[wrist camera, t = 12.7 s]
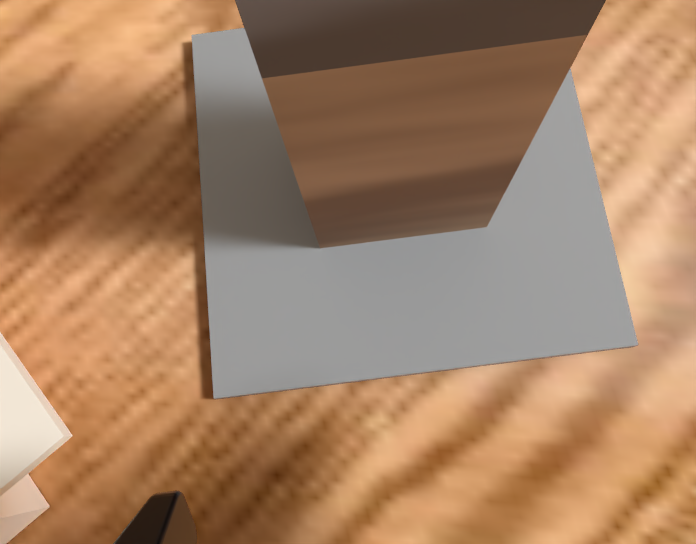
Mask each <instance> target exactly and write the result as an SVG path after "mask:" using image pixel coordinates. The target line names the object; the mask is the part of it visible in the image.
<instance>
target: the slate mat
mask: <svg viewBox="0 0 696 544" xmlns="http://www.w3.org/2000/svg"><path fill="white" fill-rule="evenodd" d="M192 49H193V66H194V82H195V99H196V115H197V132H198V149H199V165H200V182H201V198H202V215H203V231H204V248H205V265H206V281H207V298H208V314H209V331H210V348H211V364H212V381H213V397H214V399H223V398H231V397H239V396H247V395H255V394H263V393H271V392H279V391H287V390H295V389H303V388H311V387H319V386H327V385H335V384H343V383H351V382H359V381H367V380H374V379H382V378H390V377H398V376H406V375H414V374H422V373H430V372H438V371H446V370H454V369H462V368H470V367H478V366H486V365H494V364H502V363H510V362H518V361H526V360H533V359H541V358H549V357H557V356H565V355H573V354H581V353H589V352H597V351H605V350H613V349H621V348H629V347H634V346H637V345H638V342H637V338H636V334H635V330H634V326H633V321H632V317H631V313H630V309H629V305H628V301H627V297H626V293H625V289H624V285H623V281H622V277H621V273H620V269H619V265H618V260H617V256H616V252H615V248H614V244H613V240H612V236H611V232H610V228H609V224H608V220H607V216H606V212H605V208H604V204H603V199H602V195H601V191H600V187H599V183H598V179H597V175H596V171H595V167H594V163H593V159H592V155H591V151H590V147H589V143H588V139H587V134H586V130H585V126H584V122H583V118H582V114H581V110H580V106H579V102H578V98H577V94H576V90H575V86H574V82H573V78H572V73H571V69H569V71H568V73H567V75H566V77H565V79H564V81H563V83H562V85H561V87H560V89H559V90H558V92H557V94H556V96H555V98H554V100H553V102H552V104H551V106H550V108H549V110H548V111H547V113H546V115H545V117H544V119H543V121H542V123H541V125H540V127H539V129H538V130H537V132H536V134H535V136H534V138H533V140H532V142H531V144H530V146H529V148H528V150H527V151H526V153H525V155H524V157H523V159H522V161H521V163H520V165H519V167H518V169H517V171H516V172H515V174H514V176H513V178H512V180H511V182H510V184H509V186H508V188H507V190H506V192H505V193H504V195H503V197H502V199H501V201H500V203H499V205H498V207H497V209H496V211H495V212H494V214H493V216H492V218H491V220H490V222H489V224H488V226H487V227H485V228H477V229H469V230H461V231H453V232H445V233H438V234H430V235H422V236H414V237H406V238H398V239H390V240H383V241H375V242H367V243H359V244H351V245H343V246H336V247H328V248H320V247H319V244H318V241H317V238H316V235H315V232H314V229H313V226H312V224H311V221H310V218H309V215H308V212H307V209H306V206H305V203H304V200H303V197H302V194H301V191H300V188H299V186H298V183H297V180H296V177H295V174H294V171H293V168H292V165H291V162H290V159H289V156H288V153H287V151H286V148H285V145H284V142H283V139H282V136H281V133H280V130H279V127H278V124H277V121H276V118H275V115H274V113H273V110H272V107H271V104H270V101H269V98H268V95H267V92H266V89H265V86H264V83H263V80H262V77H261V75H260V72H259V69H258V66H257V63H256V60H255V57H254V54H253V51H252V48H251V45H250V42H249V39H248V37H247V34H246V31H245V28H240V29H233V30H225V31H218V32H211V33H204V34H197V35H192Z"/></svg>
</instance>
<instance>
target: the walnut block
mask: <svg viewBox="0 0 696 544" xmlns="http://www.w3.org/2000/svg"><path fill="white" fill-rule="evenodd" d="M235 1H236V4H237V7H238V10H239V13H240V16H241V19H242V22H243V25H244V28H245V31H246V34H247V37H248V39H249V42H250V45H251V48H252V51H253V54H254V57H255V60H256V63H257V66H258V69H259V72H260V75H261V77H262V80H263V83H264V86H265V89H266V92H267V95H268V98H269V101H270V104H271V107H272V110H273V113H274V115H275V118H276V121H277V124H278V127H279V130H280V133H281V136H282V139H283V142H284V145H285V148H286V151H287V153H288V156H289V159H290V162H291V165H292V168H293V171H294V174H295V177H296V180H297V183H298V186H299V188H300V191H301V194H302V197H303V200H304V203H305V206H306V209H307V212H308V215H309V218H310V221H311V224H312V226H313V229H314V232H315V235H316V238H317V241H318V244H319V247H320V248H328V247H336V246H343V245H351V244H359V243H367V242H375V241H383V240H390V239H398V238H406V237H414V236H422V235H430V234H438V233H445V232H453V231H461V230H469V229H477V228H485V227H487V226H488V224H489V222H490V220H491V218H492V216H493V214H494V212H495V211H496V209H497V207H498V205H499V203H500V201H501V199H502V197H503V195H504V193H505V192H506V190H507V188H508V186H509V184H510V182H511V180H512V178H513V176H514V174H515V172H516V171H517V169H518V167H519V165H520V163H521V161H522V159H523V157H524V155H525V153H526V151H527V150H528V148H529V146H530V144H531V142H532V140H533V138H534V136H535V134H536V132H537V130H538V129H539V127H540V125H541V123H542V121H543V119H544V117H545V115H546V113H547V111H548V110H549V108H550V106H551V104H552V102H553V100H554V98H555V96H556V94H557V92H558V90H559V89H560V87H561V85H562V83H563V81H564V79H565V77H566V75H567V73H568V71H569V69H570V68H571V66H572V64H573V62H574V60H575V58H576V56H577V54H578V52H579V50H580V49H581V47H582V45H583V43H584V41H585V39H586V37H587V35H588V33H589V31H590V29H591V28H592V26H593V24H594V22H595V20H596V18H597V16H598V14H599V12H600V10H601V8H602V7H603V5H604V3H605V1H606V0H235Z"/></svg>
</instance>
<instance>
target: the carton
mask: <svg viewBox="0 0 696 544" xmlns="http://www.w3.org/2000/svg"><path fill="white" fill-rule="evenodd" d="M72 436H73V435H72V434H71V433H70V431H69V430H68V428H67V427H66V425H65V424H64V423H63V421H62V420H61V418H60V417H59V415H58V414H57V413H56V411H55V410H54V408H53V407H52V405H51V404H50V403H49V401H48V400H47V398H46V397H45V395H44V394H43V393H42V391H41V390H40V388H39V387H38V385H37V384H36V383H35V381H34V380H33V378H32V377H31V375H30V374H29V373H28V371H27V370H26V368H25V367H24V365H23V364H22V363H21V361H20V360H19V358H18V357H17V355H16V354H15V353H14V351H13V350H12V348H11V347H10V345H9V344H8V343H7V341H6V340H5V338H4V337H3V335H2V334H1V333H0V544H6V543H8V542H9V541H10V540H11V539H12V538H14V537H15V536H16V535H17V534H18V533H19V532H21V531H22V530H23V529H24V528H25V527H27V526H28V525H29V524H30V523H31V522H32V521H34V520H35V519H36V518H37V517H38V516H40V515H41V514H42V513H43V512H44V511H45V510H47V509H48V508H49V507H50V506H49V504H48V503H47V501H46V500H45V498H44V497H43V495H42V494H41V492H40V491H39V489H38V488H37V486H36V485H35V483H34V482H33V480H32V479H31V477H30V476H29V474H28V473H29V472H30V471H32V470H33V469H34V468H35V467H36V466H38V465H39V464H40V463H41V462H42V461H44V460H45V459H46V458H47V457H48V456H50V455H51V454H52V453H53V452H54V451H56V450H57V449H58V448H59V447H60V446H62V445H63V444H64V443H65V442H66V441H68V440H69V439H70V438H71V437H72Z"/></svg>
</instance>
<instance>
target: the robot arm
mask: <svg viewBox="0 0 696 544" xmlns="http://www.w3.org/2000/svg"><path fill="white" fill-rule="evenodd" d="M113 544H197V533H196V526H195V523H194V521H193V518H192V515H191V513H190V510H189V508H188V505H187V502H186V500H185V497H184V495H183V494H182V493H181V492H180V491H170V492H162V493H156V494H154V495H153V496H151V497H150V498H149V499H148V501H147V502H146V503H145V504H144V506H143V507H142V508H141V509H140V511H139V512H138V513H137V514H136V516H135V517H134V518H133V519H132V521H131V522H130V523H129V524H128V526H127V527H126V528H125V529H124V531H123V532H122V533H121V534H120V536H119V537H118V538H117V539H116V541H115V542H114V543H113Z"/></svg>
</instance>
